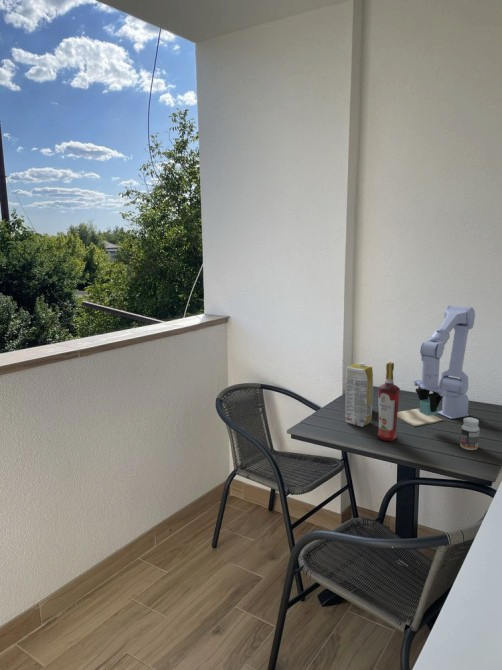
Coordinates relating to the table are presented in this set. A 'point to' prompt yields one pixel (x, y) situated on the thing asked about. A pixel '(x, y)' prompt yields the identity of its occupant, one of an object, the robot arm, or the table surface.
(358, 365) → the juice carton
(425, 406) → the teal cube
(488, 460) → the table surface
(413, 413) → the birch board
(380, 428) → the liquor
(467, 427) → the pill bottle
